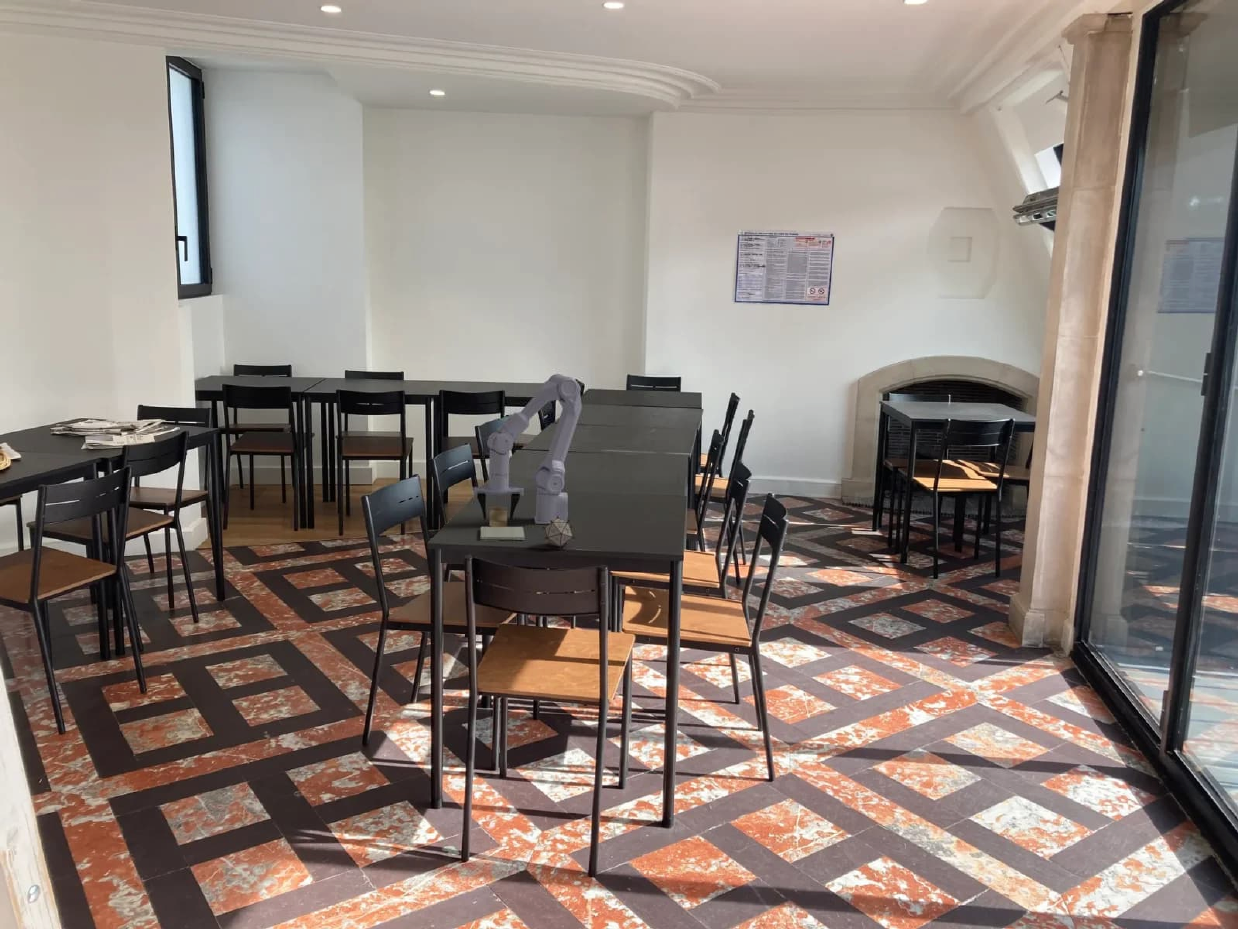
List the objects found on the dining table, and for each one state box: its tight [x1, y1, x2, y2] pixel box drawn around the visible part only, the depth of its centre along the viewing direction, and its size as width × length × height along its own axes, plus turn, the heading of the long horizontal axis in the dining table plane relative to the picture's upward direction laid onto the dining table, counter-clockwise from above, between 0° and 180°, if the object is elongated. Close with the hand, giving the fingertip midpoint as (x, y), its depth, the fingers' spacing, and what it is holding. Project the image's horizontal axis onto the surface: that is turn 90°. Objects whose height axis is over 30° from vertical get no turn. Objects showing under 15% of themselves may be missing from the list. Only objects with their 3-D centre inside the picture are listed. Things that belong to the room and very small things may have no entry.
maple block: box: [489, 506, 508, 527], centre depth 277 cm, size 5×5×5 cm
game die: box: [542, 516, 576, 550], centre depth 256 cm, size 9×8×10 cm
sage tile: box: [480, 526, 525, 541], centre depth 266 cm, size 12×11×1 cm
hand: (498, 518), depth 277 cm, fingers open, 7 cm apart
